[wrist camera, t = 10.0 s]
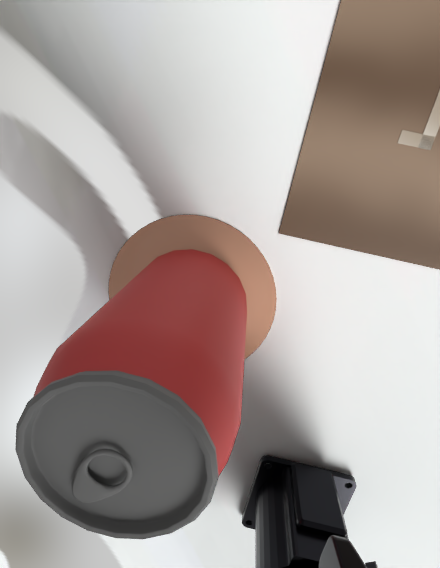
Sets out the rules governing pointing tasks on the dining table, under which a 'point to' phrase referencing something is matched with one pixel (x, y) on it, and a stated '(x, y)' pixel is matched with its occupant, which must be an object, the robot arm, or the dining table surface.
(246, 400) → the dining table surface
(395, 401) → the dining table surface
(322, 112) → the board
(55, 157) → the dining table surface
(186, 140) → the dining table surface
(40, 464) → the beer can
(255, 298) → the coaster
